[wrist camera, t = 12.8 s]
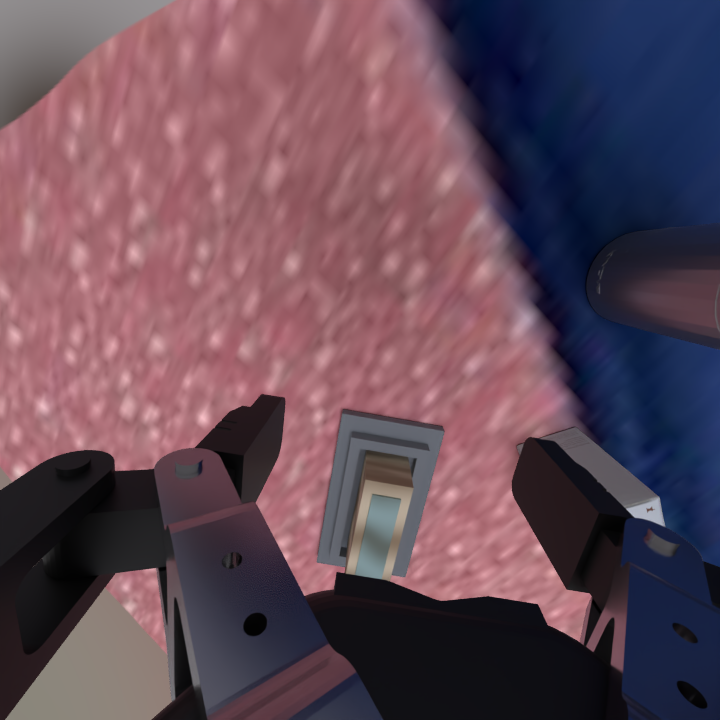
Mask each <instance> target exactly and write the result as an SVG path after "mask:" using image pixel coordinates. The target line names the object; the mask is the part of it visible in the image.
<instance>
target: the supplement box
mask: <svg viewBox="0 0 720 720" xmlns="http://www.w3.org/2000/svg"><path fill="white" fill-rule="evenodd" d="M539 439H545V440H551V441H555V442H556V443H557V444H558V445H559V446H560V447H561V448H562V449H563V450H564V451H565V452H566V453H567V454H568V455H569V456H570V457H571V458H572V459H573V460H574V461H575V462H576V463H578V464H579V465H581V466H582V467H584V468H585V469H587V470H588V471H589V472H590V473H591V474H592V475H593V476H594V477H595V478H596V479H597V482H600V483H601V484H602V485H603V486H604V487H605V488H606V489H607V490H606V491H607V492H610V493H611V494H612V495H613V496H614V497H615V498H616V499H617V500H618V501H619V502H620V503H621V504H622V505H623V506H624V507H625V508H626V509H627V510H628V511H629V512H630V513H631V514H632V515H633V516H634V517H635V518H641V519H646V520H649V521H652V522H655V523H657V524H660V525H662V526H664V527H665V524H664V519H663V514H662V509H661V504H660V498H659V497H658V496H657V495H656V494H655V493H654V492H652V491H651V490H650V489H649V488H648V487H647V486H645V485H644V484H643V483H642V482H641V481H639V480H638V479H637V478H636V477H635V476H633V475H632V474H631V473H630V472H629V471H628V470H626V469H625V468H624V467H623V466H622V465H620V464H619V463H618V462H617V461H616V460H614V459H613V458H612V457H611V456H610V455H609V454H607V453H606V452H605V451H604V450H603V449H601V448H600V447H599V446H598V445H597V444H595V443H594V442H593V441H592V440H591V439H590V438H589V437H587V436H586V435H585V434H584V433H582V432H581V431H580V430H579V429H578V428H577V427H575V428H571V429H568V430H564V431H561V432H558V433H555V434H551V435H548V436H545V437H542V438H539ZM523 445H524V443H523V444H520V445H518V446H517V449H518V452H519V455H520V454H521V451H522V448H523Z"/></svg>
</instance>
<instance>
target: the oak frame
mask: <svg viewBox="0 0 720 720" xmlns="http://www.w3.org/2000/svg"><path fill="white" fill-rule="evenodd" d="M413 489H414V487H413V481H412V476H411V470H410V464H409V459H408V457H406V456H400V455H394V454H388V453H383V452H377V451H371V450H366V454H365V459H364V464H363V469H362V474H361V479H360V484H359V488H358V493H357V498H356V503H355V508H354V513H353V518H352V523H351V528H350V533H349V538H348V543H347V554H346V565H345V573H346V574H352V575H358V576H364V577H371V578H377V579H383V580H387V581H390V579H391V575H392V571H393V567H394V563H395V559H396V555H397V551H398V547H399V544H400V540H401V536H402V532H403V528H404V524H405V520H406V516H407V512H408V508H409V504H410V501H411V497H412V493H413Z"/></svg>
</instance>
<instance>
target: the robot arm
mask: <svg viewBox="0 0 720 720" xmlns="http://www.w3.org/2000/svg"><path fill="white" fill-rule="evenodd" d="M586 291H587V296H588V300H589V302H590V304H591V306H592V308H593V309H594V310H595V311H596V313H597V314H599V315H600V316H602V317H603V318H605V319H607V320H609V321H612V322H616V323H619V324H623V325H627V326H631V327H635V328H638V329H642V330H646V331H650V332H653V333H657V334H661V335H665V336H669V337H673V338H677V339H680V340H684V341H688V342H692V343H696V344H700V345H704V346H707V347H711V348H715V349H719V350H720V223H712V224H703V225H694V226H684V227H674V228H663V229H654V230H645V231H636V232H632V233H628V234H625V235H623V236H621V237H618V238H616V239H615V240H613V241H612V242H611V243H609V244H608V245H607V246H606V247H605V248H604V249H603V250H602V251H601V252H600V253H599V254H598V255H597V257H596V258H595V260H594V261H593V263H592V265H591V267H590V270H589V273H588V277H587V284H586ZM284 413H285V398H284V397H277V396H271V395H265V394H261V395H260V397H259V398H258V399H257V400H256V401H255V402H254V404H253V405H252V406H251V407H247V406H241V407H239V408H237V409H235V410H232V411H230V412H229V413H228V414H227V415H226V416H225V417H224V418H223V419H222V421H220V422H219V423H218V424H217V425H216V426H215V428H213V429H212V431H211V432H210V433H209V434H208V435H207V436H206V437H205V438H204V439H203V440H202V441H201V442H200V443H199V444H198V445H197V446H196V447H195V448H188V449H182V450H178V451H175V452H172V453H169V454H167V455H166V456H164V457H162V458H161V459H160V460H159V461H158V462H157V463H156V465H155V467H154V469H149V470H131V471H115V464H114V458H113V457H112V456H111V455H110V454H108V453H106V452H102V451H96V450H84V451H75V452H70V453H66V454H62V455H59V456H56V457H53V458H51V459H49V460H47V461H45V462H43V463H41V464H39V465H38V466H36V467H35V468H33V469H32V470H30V471H29V472H27V473H26V474H24V475H23V476H21V477H20V478H18V479H17V480H15V481H14V482H12V483H11V484H9V485H8V486H6V487H5V488H3V489H2V490H0V720H5V719H6V718H7V716H8V715H9V713H10V712H11V711H12V710H13V708H14V707H15V706H16V704H17V703H18V702H19V700H20V699H21V698H22V696H23V695H24V694H25V692H26V691H27V690H28V689H29V687H30V686H31V685H32V683H33V682H34V681H35V679H36V678H37V677H38V675H39V674H40V673H41V671H42V670H43V669H44V667H45V666H46V665H47V663H48V662H49V660H50V659H51V658H52V657H53V655H54V654H55V653H56V651H57V650H58V649H59V647H60V646H61V645H62V643H63V642H64V641H65V640H66V638H67V637H68V635H69V634H70V633H71V631H72V630H73V629H74V628H75V626H76V625H77V623H78V622H79V621H80V620H81V618H82V617H83V616H84V614H85V613H86V612H87V610H88V609H89V608H90V606H91V605H92V604H93V602H94V601H95V600H96V598H97V597H98V596H99V595H100V593H101V592H102V590H103V589H104V588H105V587H106V585H107V584H108V583H109V581H110V580H111V579H112V577H113V576H114V575H115V573H120V572H127V571H135V570H143V569H151V568H156V570H157V578H158V585H159V592H160V599H161V607H162V614H163V621H164V628H165V635H166V643H167V654H168V667H169V678H170V679H169V680H170V690H171V698H172V702H171V703H170V704H169V705H168V706H167V707H166V708H164V709H163V710H162V711H161V712H160V713H159V714H157V715H156V716H155V717H154V718H153V719H152V720H720V567H718V566H715V565H712V564H709V563H707V562H704V561H703V559H702V557H701V555H700V553H699V552H698V551H697V549H696V548H695V547H694V546H693V545H692V544H690V543H689V542H688V541H687V540H685V539H684V538H683V537H681V536H680V535H678V534H677V533H675V532H673V531H672V530H670V529H668V528H666V527H664V526H662V525H660V524H657V523H655V522H652V521H649V520H646V519H641V518H635V517H634V516H633V515H632V514H631V513H630V512H629V511H628V510H627V509H626V508H625V507H624V506H623V505H622V504H621V503H620V502H619V501H618V500H617V499H616V498H615V497H614V496H613V495H612V494H611V493H610V492H607V491H606V490H607V489H606V488H605V487H604V486H603V485H602V484H601V483H600V482H597V479H596V478H595V477H594V476H593V475H592V474H591V473H590V472H589V471H588V470H587V469H585V468H584V467H582V466H581V465H579V464H578V463H576V462H575V461H574V460H573V459H572V458H571V457H570V456H569V455H568V454H567V453H566V452H565V451H564V450H563V449H562V448H561V447H560V446H559V445H558V444H557V443H556V442H555V441H551V440H545V439H539V438H532V437H529V438H527V439H526V441H525V442H524V445H523V448H522V451H521V454H520V457H519V460H518V463H517V466H516V470H515V473H514V476H513V479H512V493H513V496H514V498H515V500H516V502H517V504H518V506H519V507H520V509H521V511H522V512H523V514H524V516H525V518H526V519H527V521H528V523H529V525H530V526H531V528H532V530H533V532H534V533H535V535H536V537H537V539H538V540H539V542H540V544H541V546H542V547H543V549H544V551H545V553H546V554H547V556H548V558H549V559H550V561H551V563H552V565H553V566H554V568H555V570H556V572H557V573H558V575H559V577H560V579H561V580H562V582H563V584H564V586H565V587H566V589H567V590H573V591H579V592H585V593H590V594H591V596H592V597H591V599H590V601H589V603H588V606H587V608H586V613H585V618H584V623H583V628H582V633H581V638H580V642H578V641H577V640H575V639H573V638H572V637H570V636H568V635H567V634H565V633H563V632H561V631H559V630H557V629H555V628H553V627H551V626H548V625H547V623H546V621H545V619H544V616H543V614H542V612H541V610H540V608H539V606H538V604H533V603H527V602H520V601H514V600H508V599H502V598H495V597H489V596H487V597H477V598H468V599H458V600H448V601H439V600H435V599H432V598H430V597H427V596H425V595H422V594H420V593H417V592H415V591H412V590H410V589H407V588H405V587H402V586H400V585H397V584H395V583H392V582H390V581H387V580H383V579H377V578H371V577H364V576H358V575H352V574H346V573H339V572H337V574H336V580H335V585H334V590H326V591H321V592H316V593H312V594H309V595H306V596H304V595H303V593H302V591H301V589H300V587H299V585H298V583H297V581H296V579H295V577H294V575H293V573H292V571H291V570H290V568H289V566H288V564H287V562H286V560H285V558H284V556H283V554H282V552H281V550H280V548H279V546H278V544H277V542H276V541H275V539H274V537H273V535H272V533H271V531H270V529H269V527H268V525H267V523H266V521H265V519H264V517H263V515H262V514H261V512H260V510H259V508H258V506H257V504H256V501H257V499H258V497H259V495H260V493H261V491H262V489H263V487H264V485H265V483H266V481H267V479H268V477H269V475H270V473H271V471H272V469H273V467H274V465H275V463H276V461H277V458H278V456H279V452H280V448H281V443H282V434H283V423H284ZM33 566H34V567H33Z"/></svg>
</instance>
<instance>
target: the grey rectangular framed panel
mask: <svg viewBox="0 0 720 720" xmlns="http://www.w3.org/2000/svg"><path fill="white" fill-rule="evenodd" d="M443 435H444V429H443V426H437V425H431V424H425V423H420V422H414V421H408V420H402V419H397V418H391V417H385V416H379V415H374V414H368V413H362V412H356V411H351V410H345V409H343V412H342V418H341V423H340V429H339V435H338V441H337V447H336V452H335V458H334V464H333V470H332V476H331V482H330V487H329V493H328V499H327V505H326V511H325V516H324V522H323V528H322V534H321V540H320V546H319V551H318V557H317V563H323V564H329V565H335V566H341V567H345V565H346V554H347V543H348V538H349V533H350V528H351V523H352V518H353V513H354V508H355V503H356V498H357V493H358V488H359V484H360V479H361V474H362V469H363V464H364V459H365V454H366V450H371V451H377V452H383V453H388V454H394V455H400V456H406V457H408V459H409V464H410V470H411V476H412V481H413V487H414V489H413V493H412V497H411V501H410V504H409V508H408V512H407V516H406V520H405V524H404V528H403V532H402V536H401V540H400V544H399V547H398V551H397V555H396V559H395V563H394V567H393V571H392V575H395V576H401V577H405V576H406V573H407V569H408V565H409V561H410V558H411V554H412V550H413V547H414V543H415V539H416V535H417V532H418V528H419V524H420V521H421V517H422V513H423V509H424V506H425V502H426V498H427V495H428V491H429V487H430V483H431V480H432V476H433V472H434V469H435V465H436V461H437V457H438V454H439V450H440V446H441V443H442V439H443Z"/></svg>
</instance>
